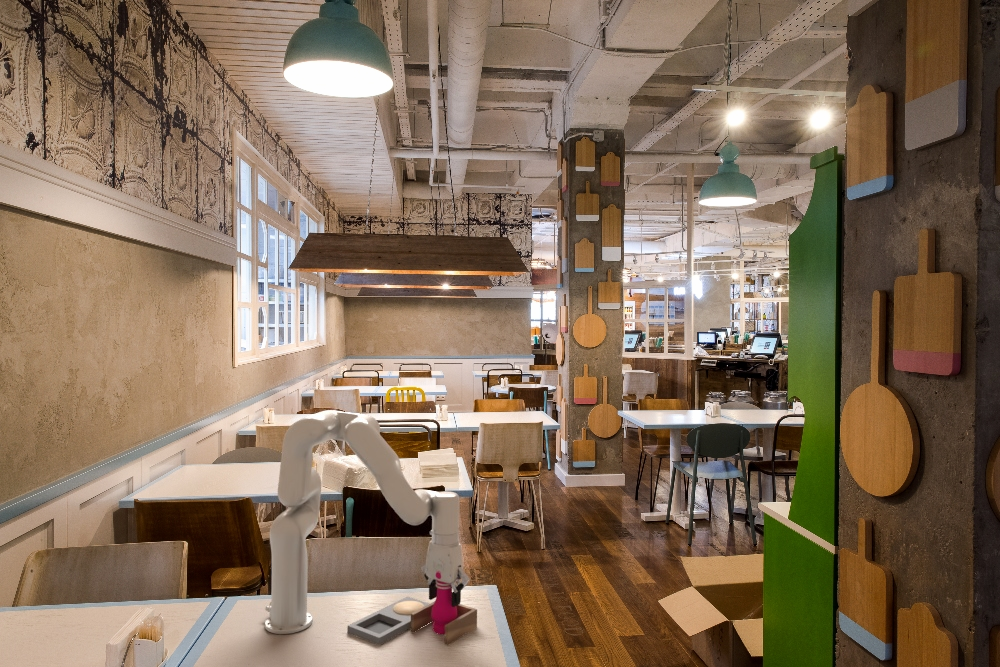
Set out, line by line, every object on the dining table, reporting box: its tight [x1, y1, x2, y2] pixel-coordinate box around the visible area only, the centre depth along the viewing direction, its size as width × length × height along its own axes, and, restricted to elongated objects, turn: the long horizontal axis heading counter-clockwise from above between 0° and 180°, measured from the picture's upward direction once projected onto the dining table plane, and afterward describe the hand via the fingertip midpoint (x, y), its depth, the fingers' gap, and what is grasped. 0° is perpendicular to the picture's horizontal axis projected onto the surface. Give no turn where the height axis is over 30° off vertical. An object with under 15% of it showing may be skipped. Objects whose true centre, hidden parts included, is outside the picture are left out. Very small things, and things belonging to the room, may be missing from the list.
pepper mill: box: [431, 571, 457, 636], centre depth 177 cm, size 7×7×20 cm
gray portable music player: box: [346, 596, 430, 646], centre depth 181 cm, size 12×24×2 cm, turn 146°
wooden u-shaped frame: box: [410, 600, 478, 646], centre depth 177 cm, size 13×13×5 cm
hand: (444, 601), depth 177 cm, fingers open, 7 cm apart
